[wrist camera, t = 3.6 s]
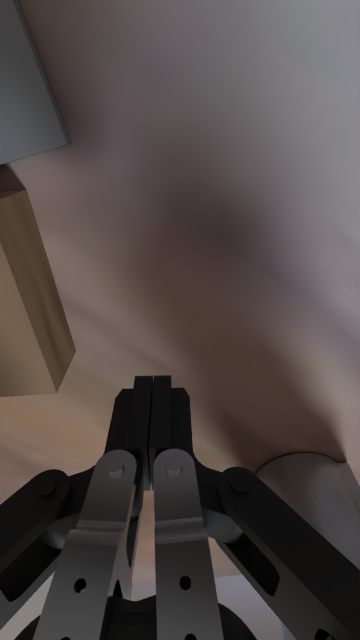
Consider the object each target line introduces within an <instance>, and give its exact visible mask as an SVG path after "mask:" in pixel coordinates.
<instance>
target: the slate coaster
mask: <svg viewBox="0 0 360 640" xmlns="http://www.w3.org/2000/svg"><path fill="white" fill-rule="evenodd" d="M68 144H71V141H70V138H69V135H68V133H67V130H66V127H65V125H64V122H63V119H62V117H61V114H60V112H59V109H58V106H57V104H56V101H55V98H54V96H53V93H52V90H51V88H50V85H49V82H48V80H47V77H46V74H45V72H44V69H43V66H42V64H41V61H40V58H39V56H38V53H37V50H36V48H35V45H34V42H33V40H32V37H31V35H30V32H29V29H28V27H27V24H26V21H25V19H24V16H23V13H22V11H21V8H20V5H19V3H18V0H0V165H3V164H6V163H10V162H13V161H16V160H19V159H23V158H26V157H29V156H32V155H36V154H39V153H42V152H45V151H49V150H52V149H55V148H58V147H62V146H65V145H68Z"/></svg>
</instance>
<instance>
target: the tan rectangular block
mask: <svg viewBox="0 0 360 640" xmlns="http://www.w3.org/2000/svg"><path fill="white" fill-rule="evenodd" d="M75 352H76V349H75V346H74V343H73V340H72V336H71V333H70V330H69V327H68V323H67V320H66V317H65V313H64V310H63V307H62V304H61V300H60V297H59V294H58V291H57V287H56V284H55V281H54V278H53V274H52V271H51V268H50V265H49V261H48V258H47V255H46V252H45V248H44V245H43V242H42V239H41V235H40V232H39V229H38V226H37V222H36V219H35V216H34V213H33V209H32V206H31V203H30V200H29V196H28V193H27V190H26V189H24V190H14V191H3V192H0V397H7V396H21V395H35V394H49V393H57V391H58V389H59V387H60V385H61V383H62V380H63V378H64V376H65V374H66V372H67V369H68V367H69V365H70V363H71V361H72V359H73V356H74V354H75Z"/></svg>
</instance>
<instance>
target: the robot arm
mask: <svg viewBox="0 0 360 640" xmlns="http://www.w3.org/2000/svg"><path fill="white" fill-rule="evenodd" d="M151 484H152V490H154V514H155V573H156V595H154V596H151V597H148V598H145V599H142V600H140V601H131V594H132V576H133V567H134V561H135V554H136V547H137V541H138V534H139V528H140V521H141V515H142V505H143V493H144V491H148V490H150V485H151ZM208 537H211V538H214V539H215V540H216V542H217V544H218V545H219V547H220V548H221V549H222V550H223V551H224V553H225V554H226V555H227V556H228V557H229V559H230V560H231V561H232V562H233V563H234V565H235V566H236V567H237V568H238V569H239V571H240V572H241V573H242V574H243V575H244V577H245V578H246V579H247V580H248V581H249V582H250V584H251V585H252V586H253V587H254V589H255V590H256V591H257V592H258V593H259V595H260V596H261V597H262V598H263V600H264V601H265V602H266V603H267V604H268V606H269V607H270V608H271V609H272V610H273V612H274V613H275V614H276V615H277V616H278V617H279V619H280V624H281V629H282V634H283V638H284V640H360V486H359V484H358V482H357V480H356V478H355V476H354V474H353V472H352V470H351V468H350V466H349V464H348V463H338V462H336V461H334V460H332V459H331V458H329V457H326V456H323V455H320V454H314V453H298V454H290V455H287V456H283V457H280V458H278V459H275V460H273V461H271V462H269V463H268V464H266V465H265V466H263V467H262V468H261V469H260V470H259V471H258V472H257V474H256V475H255V474H254V473H253V472H251V471H250V470H248V469H245V468H242V467H231V468H228V469H226V470H225V471H223V472H219V471H216V470H213V469H210V468H207V467H205V466H204V465H202V464H201V463H200V462H199V461H198V460H197V459H196V457H195V455H194V453H193V446H192V429H191V413H190V397H189V395H188V394H187V392H186V390H185V389H184V388H172V387H171V375H167V376H154V382H153V376H135V381H134V388H133V389H122V390H121V392H120V393H119V394H118V395H117V397H116V398H115V403H114V408H113V413H112V419H111V423H110V428H109V432H108V437H107V442H106V447H105V451H104V454H103V456H102V457H101V458H100V459H99V460H98V461H97V463H96V465H95V466H93V467H92V468H90V469H88V470H86V471H84V472H81V473H78V474H74V475H71V476H67V475H66V473H64V472H63V471H61V470H55V469H52V470H47V471H44V472H41V473H40V474H38V475H36V476H35V477H34V478H33V479H31V480H30V481H29V482H28V483H26V484H25V485H24V486H23V487H22V488H20V489H19V490H18V491H17V492H15V493H14V494H13V495H12V496H11V497H9V498H8V499H7V500H6V501H5V502H3V503H2V504H1V505H0V630H1V629H2V628H3V626H4V625H5V624H6V623H7V622H8V621H9V620H10V619H11V618H12V617H13V616H14V615H15V613H16V612H17V611H18V610H19V609H20V608H21V607H22V606H23V605H24V604H25V602H26V601H27V600H28V599H29V598H30V597H31V596H32V595H33V594H34V593H35V592H36V591H37V590H38V588H39V587H40V586H41V585H42V584H43V583H44V582H45V581H46V580H47V579H48V578H49V577H50V575H51V574H52V573H53V572H54V571H55V573H54V576H53V579H52V582H51V585H50V588H49V592H48V594H47V598H46V601H45V604H44V607H43V610H42V613H41V615H40V616H38V617H37V618H36V619H35V620H33V621H32V622H31V623H30V624H29V625H28V626H27V627H26V628H24V629H23V631H21V633H20V634H19V635H18V636H17V637H16V639H15V640H257V639H256V638H255V636H254V635H253V633H252V632H251V631H250V629H249V628H248V627H247V626H246V624H245V623H244V622H243V621H242V620H241V619H240V618H239V617H238V616H237V615H236V614H235V613H234V612H232V611H231V610H230V609H228V608H227V607H225V606H224V605H222V604H220V603H218V600H217V593H216V586H215V580H214V573H213V567H212V560H211V554H210V547H209V541H208Z"/></svg>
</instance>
